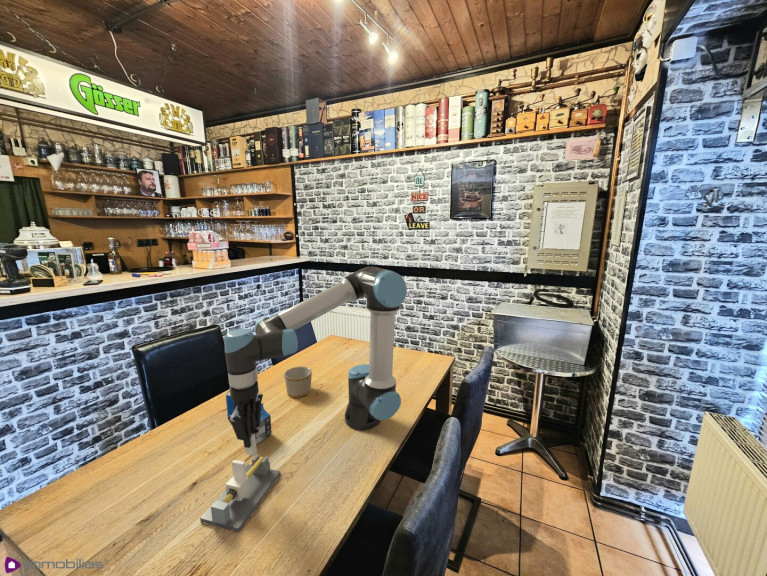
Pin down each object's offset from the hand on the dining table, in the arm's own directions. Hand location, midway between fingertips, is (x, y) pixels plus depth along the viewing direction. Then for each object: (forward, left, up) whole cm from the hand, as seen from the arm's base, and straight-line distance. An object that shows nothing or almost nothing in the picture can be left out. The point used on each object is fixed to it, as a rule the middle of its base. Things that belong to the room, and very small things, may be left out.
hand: (251, 453), depth 95 cm
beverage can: (+28, -28, -12) cm, 41 cm away
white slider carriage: (0, +6, -9) cm, 11 cm away
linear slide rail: (0, +4, -11) cm, 12 cm away
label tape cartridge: (+11, -19, -12) cm, 25 cm away
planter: (+13, -53, -12) cm, 56 cm away
